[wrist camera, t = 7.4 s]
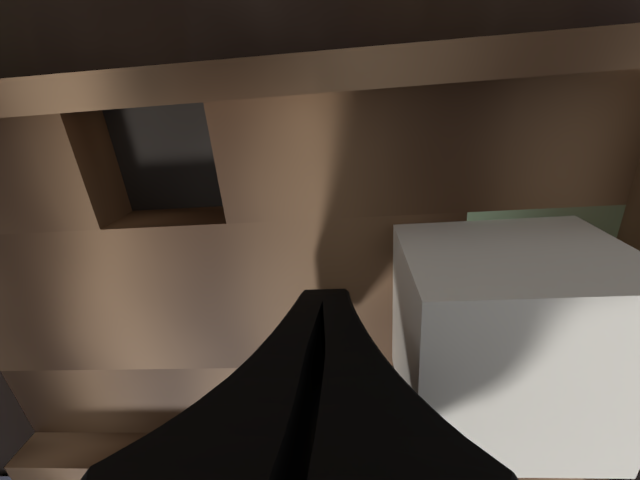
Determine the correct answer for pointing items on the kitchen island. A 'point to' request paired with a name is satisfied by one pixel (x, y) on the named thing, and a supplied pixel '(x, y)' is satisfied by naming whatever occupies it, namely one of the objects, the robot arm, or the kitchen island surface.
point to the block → (524, 340)
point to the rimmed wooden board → (271, 204)
